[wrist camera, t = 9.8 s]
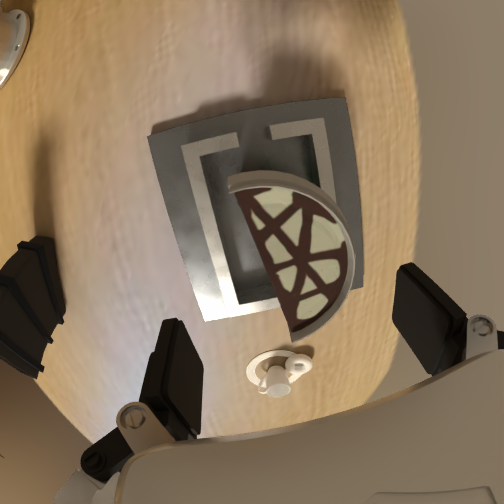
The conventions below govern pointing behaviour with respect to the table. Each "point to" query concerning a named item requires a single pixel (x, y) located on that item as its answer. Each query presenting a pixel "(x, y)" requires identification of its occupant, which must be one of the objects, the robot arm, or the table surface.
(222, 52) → the table surface
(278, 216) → the food container
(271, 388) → the white curved piece
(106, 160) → the table surface
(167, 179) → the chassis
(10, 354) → the black tall block
